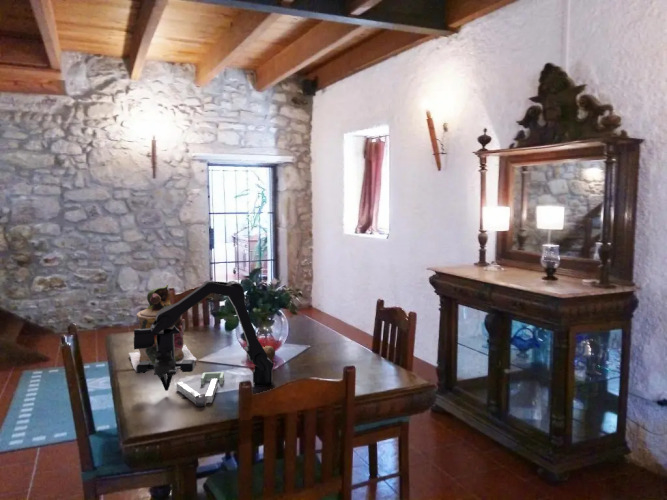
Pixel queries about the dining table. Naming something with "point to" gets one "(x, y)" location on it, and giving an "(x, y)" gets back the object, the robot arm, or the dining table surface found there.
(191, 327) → the dining table surface
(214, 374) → the lock clip
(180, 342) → the cookie jar
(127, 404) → the dining table surface
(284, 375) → the dining table surface
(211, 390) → the tongs fixed arm
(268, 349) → the mushroom
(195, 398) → the tong arm
